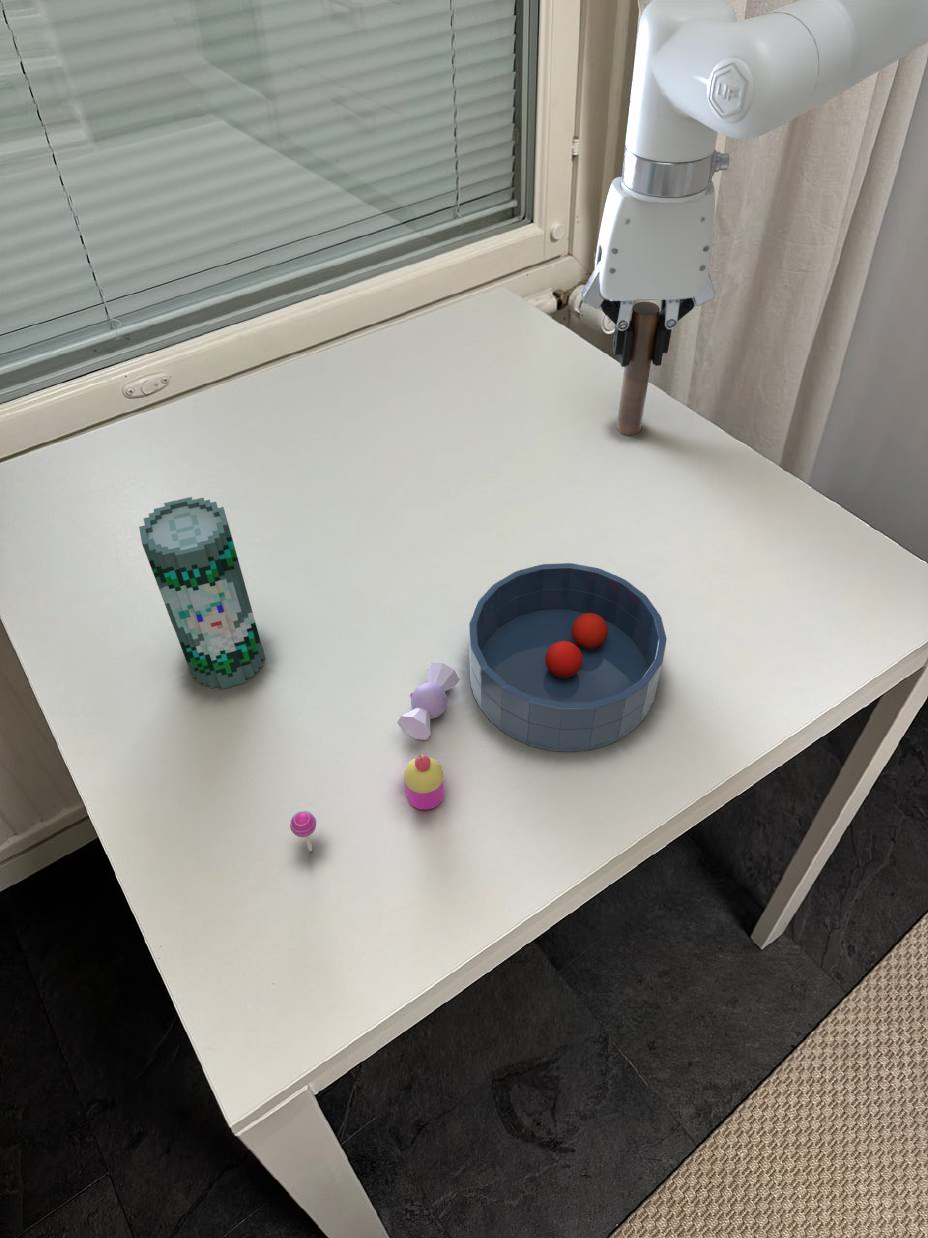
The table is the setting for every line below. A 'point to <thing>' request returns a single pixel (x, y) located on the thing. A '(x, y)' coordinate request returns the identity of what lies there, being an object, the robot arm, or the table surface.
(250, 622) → the can
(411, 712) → the candy
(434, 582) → the table surface
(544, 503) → the table surface
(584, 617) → the tomato
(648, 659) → the bowl
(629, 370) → the stick
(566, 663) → the tomato
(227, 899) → the table surface
